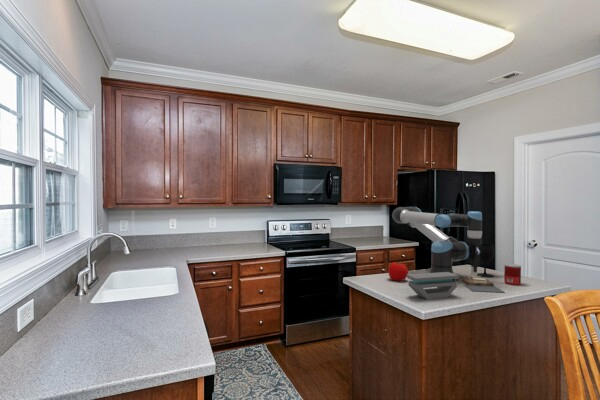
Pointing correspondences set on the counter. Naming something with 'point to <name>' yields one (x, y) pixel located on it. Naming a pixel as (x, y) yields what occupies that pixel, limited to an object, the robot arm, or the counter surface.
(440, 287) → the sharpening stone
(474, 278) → the birch tile
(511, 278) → the canned food
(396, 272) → the tomato
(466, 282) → the walnut deck
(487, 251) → the wine glass
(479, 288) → the rubber mat
